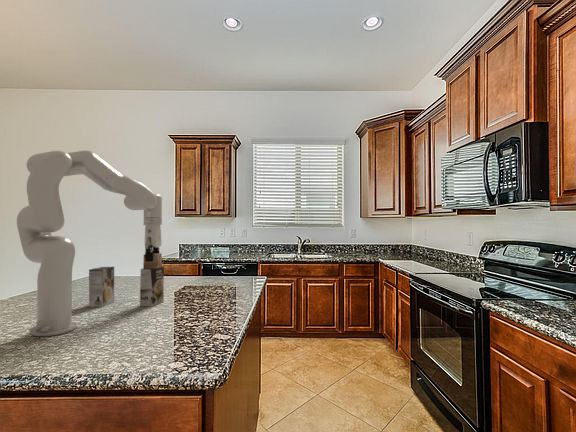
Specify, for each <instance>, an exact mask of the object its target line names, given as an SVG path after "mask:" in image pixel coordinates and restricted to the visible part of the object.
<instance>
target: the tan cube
mask: <svg viewBox="0 0 576 432" xmlns="http://www.w3.org/2000/svg"><path fill="white" fill-rule="evenodd" d="M160 267H162V253H160V252H159V253H153V262H145V254H143V268H142V269H154V268H160Z"/></svg>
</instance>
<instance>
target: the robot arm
mask: <svg viewBox="0 0 576 432" xmlns="http://www.w3.org/2000/svg"><path fill="white" fill-rule="evenodd" d="M26 169H27V171H28V172H29V176H28V178H27V180H26V181H27V182H26V196H27V201H28V205H27V206H24V207H22V209H21V210H19V212H18V214H17V218H16V227H17V231H18V235H19V241H20V244H21V248H22V251H23V254H24V256H25V258H26V259H28V261H31V262H32V263H35V264H40V266H39V269H38V273H37V278H36V281H37V284H36V285H37V288H36V289H37V292H36V293H37V294H36V295H37V296H36V325H35V326H33V327H31V328H30V329H29V331H28V332H29V333H30V334H31V336H35V337H50V336H58V335H62V334H65V333H69V332H72V331H74V330H75V329H76V328H77V327H78V325H77V322H75V321H72V310H73V309H72V308H73V307H72V305H73V302H72V301H73V300H72V299H73V286H72V285H73V278H72V277H73V266H74V261H75V257H76V246H75V245H74V243H73V241H71V239H69V238H67V237H65V236H60V235H52V233H56V232H58V231H60V230H62V228H63V227H64V226H65V225H64V224H65V215H64V211H63V210H64V209H63V206H62V201H61V198H60V196H61V195H60V184H61V181H62V179H63V178H64V177H69V176H70V177H71V176H78V175H84V176H85V177H87V179H90V180H91V181H92V182H94V183H96V185H97V186H99V187H101V188H102V189H103V190H105V191H108V192H110V193H115V194H120V195H124V196H125V197H124V199H123V205H124V206H125V207H126V208H127V209H129V210H131V211H143V226H145V227H144V248H145V250H144V255H145V262H153V253H160V247H162V229H161V226H162V224H163V220H162V219H163V217H162V216H163V213H162V212H163V205H162V204H163V202H162V201H163V199H162V198H163V197H162V195H160V194H158V193H157V194H156V193H154V192H153V191H152V190H151V189H150V188H148V187H147V186H146V185H145V184H143V183H142V182H140V181H138V180H135V179H134V178H131V177H129V176H127V175H125V174H122V173H120V172H119V171H117V170H116V169H115V168H113V167H112V166H111V165H110V164H109V163H108V162H107V161H105V160H104V159H102V158H101V157H100V156H99V155H98V154H96V153H95V152H93V151H91V150H78V151H73V152H65V151H62V150H51V151H47V152H39V153H36V154H33V155H31V156H30V157H28V159H27V161H26Z"/></svg>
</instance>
